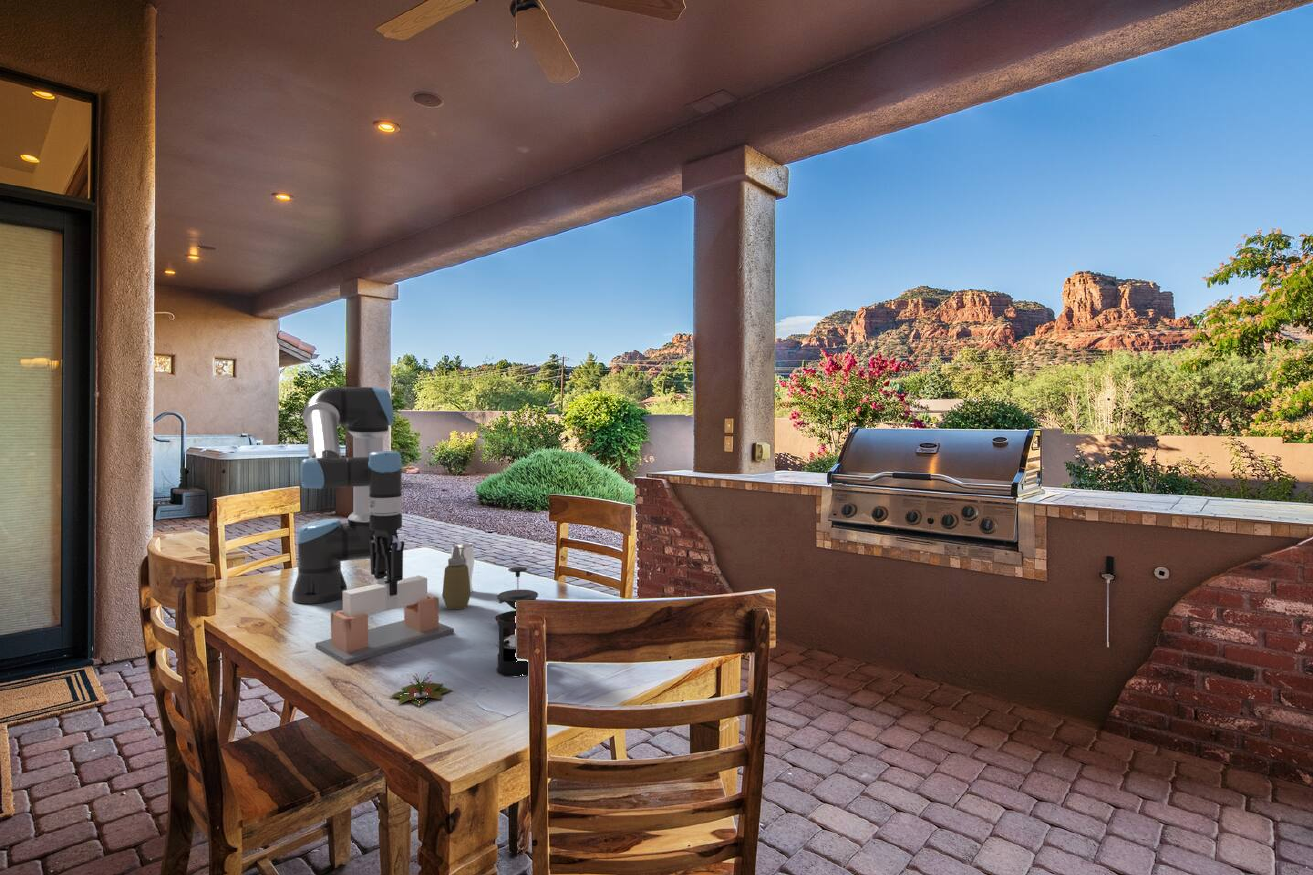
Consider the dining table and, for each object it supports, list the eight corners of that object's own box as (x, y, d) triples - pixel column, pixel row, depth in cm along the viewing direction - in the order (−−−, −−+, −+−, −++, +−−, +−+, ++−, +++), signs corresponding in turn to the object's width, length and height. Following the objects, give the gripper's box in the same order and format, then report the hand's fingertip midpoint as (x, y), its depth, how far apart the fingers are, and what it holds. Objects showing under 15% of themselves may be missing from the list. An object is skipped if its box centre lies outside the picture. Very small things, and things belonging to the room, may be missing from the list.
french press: (509, 681, 141) (509, 575, 140) (485, 669, 147) (485, 568, 146) (553, 666, 149) (553, 566, 148) (528, 655, 156) (528, 559, 155)
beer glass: (478, 590, 210) (478, 544, 209) (465, 596, 203) (465, 548, 203) (460, 588, 212) (460, 542, 212) (446, 594, 206) (446, 546, 205)
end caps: (315, 647, 159) (314, 611, 159) (421, 619, 181) (421, 587, 180) (345, 664, 149) (345, 625, 149) (454, 633, 170) (453, 599, 170)
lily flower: (376, 700, 132) (376, 678, 132) (424, 679, 142) (424, 659, 142) (417, 715, 126) (417, 691, 126) (464, 692, 136) (464, 670, 136)
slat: (342, 615, 158) (342, 590, 158) (419, 597, 173) (419, 575, 173) (350, 619, 155) (350, 594, 155) (427, 600, 171) (427, 578, 171)
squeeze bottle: (462, 612, 188) (462, 550, 187) (436, 610, 189) (436, 548, 189) (475, 604, 196) (475, 544, 195) (451, 602, 197) (450, 542, 196)
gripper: (354, 511, 166) (356, 602, 167) (388, 518, 155) (389, 616, 156) (383, 508, 172) (384, 596, 173) (417, 515, 161) (418, 609, 162)
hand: (386, 605), depth 164 cm, fingers closed on slat, 4 cm apart
